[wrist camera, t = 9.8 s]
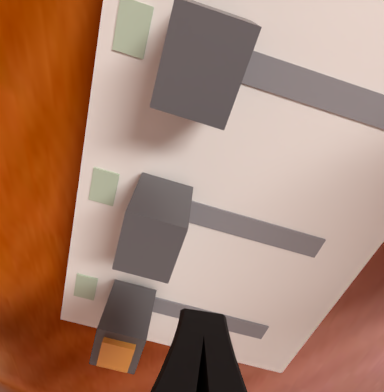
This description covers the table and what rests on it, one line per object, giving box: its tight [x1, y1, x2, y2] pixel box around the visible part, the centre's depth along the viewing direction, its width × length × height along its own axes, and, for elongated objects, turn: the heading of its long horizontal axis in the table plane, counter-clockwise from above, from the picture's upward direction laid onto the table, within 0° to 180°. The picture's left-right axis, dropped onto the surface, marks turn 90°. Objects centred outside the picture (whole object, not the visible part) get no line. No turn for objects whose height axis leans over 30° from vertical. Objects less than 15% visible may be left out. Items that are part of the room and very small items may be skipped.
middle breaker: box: [112, 172, 193, 284], centre depth 14 cm, size 2×3×3 cm
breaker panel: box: [60, 0, 384, 373], centre depth 17 cm, size 15×21×2 cm
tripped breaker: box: [89, 279, 157, 374], centre depth 18 cm, size 2×3×4 cm
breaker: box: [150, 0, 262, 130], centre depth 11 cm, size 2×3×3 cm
